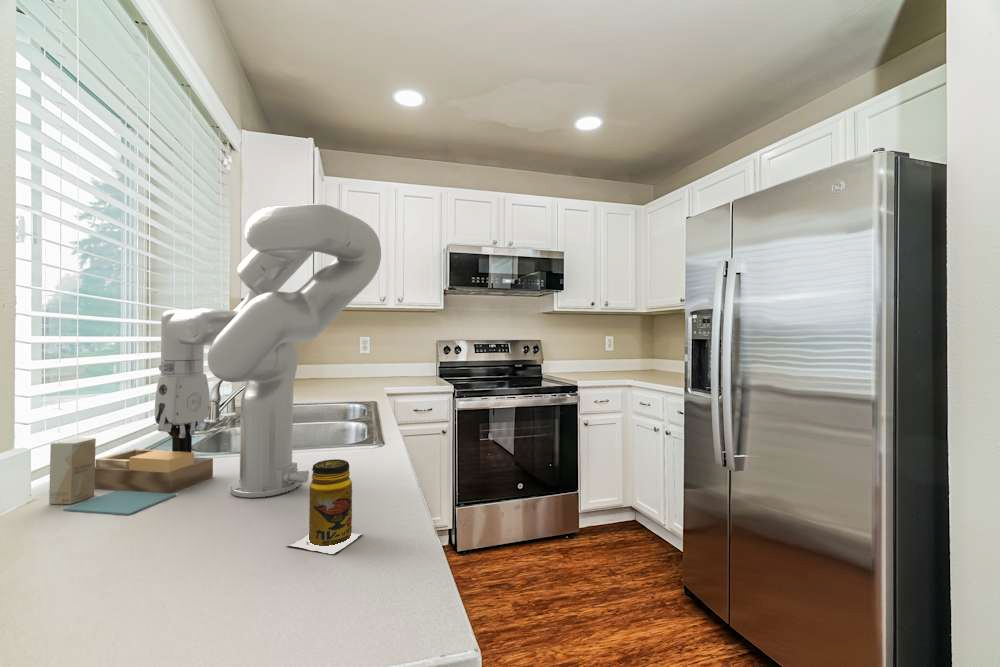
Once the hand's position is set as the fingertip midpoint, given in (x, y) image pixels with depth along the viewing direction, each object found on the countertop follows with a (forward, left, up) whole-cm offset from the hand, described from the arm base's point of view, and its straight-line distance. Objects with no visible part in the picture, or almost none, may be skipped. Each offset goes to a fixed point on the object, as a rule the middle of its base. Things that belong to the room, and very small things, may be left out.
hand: (181, 455), depth 101 cm
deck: (+5, +2, -5) cm, 7 cm away
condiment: (-44, +23, -6) cm, 50 cm away
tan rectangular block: (0, +5, -1) cm, 5 cm away
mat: (0, +14, -5) cm, 15 cm away
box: (+11, +14, -6) cm, 18 cm away
